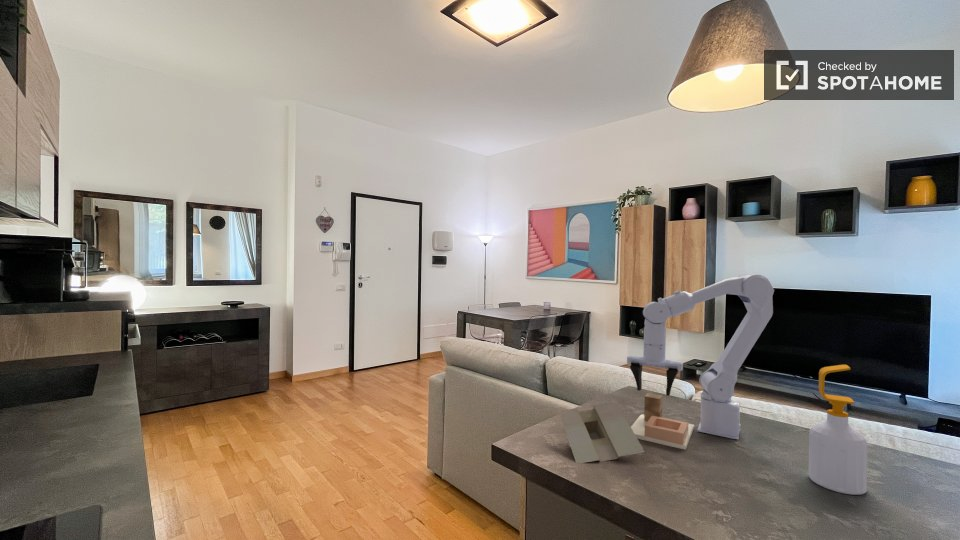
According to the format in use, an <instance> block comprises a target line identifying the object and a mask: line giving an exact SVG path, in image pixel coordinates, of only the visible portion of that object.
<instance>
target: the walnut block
mask: <svg viewBox="0 0 960 540" xmlns="http://www.w3.org/2000/svg"><path fill="white" fill-rule="evenodd" d="M643 411H644V413H643V415H644V421H646V422H648V420H649V419H650V417H651V416H657V417H662V418H663V395H661V394H658V393H657V394H655V393H650V392H647V393H646V394H645V395H644V409H643Z"/></svg>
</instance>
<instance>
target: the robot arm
mask: <svg viewBox="0 0 960 540" xmlns="http://www.w3.org/2000/svg"><path fill="white" fill-rule="evenodd" d="M774 292H775V289H774V286H773V285H772V283H771V281H770V280H769V279H768V278H767V277H766V276H765V275H761V274H741V275H738V276H733V277H729V278H725V279H723V280H720V281H718V282H715V283H712V284H710V285H707V286H705V287H703V288H700V289H698V290H695V291H693V292H688V291H686V290H685V291H684V290H683V291H680V290H675V291H674V292H673V293H674V294H672V295H669V296H667V297H664V298H662V297H659V298H657V301H650V302H647V304H645V306H644V307H643V310H642V315H643V317H644V318H645V319H644V323H643V324H644V327H643V356H632V355H628V356H626V364H629V365H630V366H629V368H630V369H629V370H630V371H631V373H632V374H633V377H634V380H635V384H636V389H637V391H641V390H642V389H643V388H642V387H643V385H642V383H643V381H642V375H643V374H642V373H643V367H644V366H647V367H655V368H660V369H661V368H663V369H666V372H665V373H666V390H665V394H666V396H671V390H672V387H673V384H674V381H675V379H676V378H677V375H678V372H682V371H683V369H684V368H683V367H684V363H683V362H680V361H673V360H668V359H666V343H667V342H666V338H667V337H666V336H667V335H666V334H667V331H666V321H667V320H668V318H670V319H671V318H674V317H677V316H680V315H683V314H686V313H688V312H691V311H693V310H694V308H695V307H696V305H697V304H699V303H702V302H706V301H709V300H712V299H715V298H718V297H721V296H724V295H735V296H738V297H739V298H740V300H741V301H742V303H743V304H744V307H745V309H746V311H747V312H746V314H745V315H744V317H743V318H742V320H741V322H740V324H739V325H738V327H737V328H736V330H735V332H734V334H733V335H732V337H731V339H730V340H729V342H728V343H727V344H726V347H725V348H724V350H723V351H722V352H721V354H720V356H719V358H718V359H717V361H715V362H714V363H712V364H711V365H710V367H709V368H708V369H707V370H704V372H702V373H701V374H700V376H699V379H698V380H699V385H700V387H701V388H702V392H701V393H700V419H699V420H700V421H699V423H698V427H697V432H700V433H703V434H704V433H705V434H708V435H714V436H719V437H724V438H727V439H728V438H729V439H732V440H733V439H734V440H740V439H739V437H740V431H741V429H742V428H741V427H742V426H741V425H742V424H741V423H740V413H741V411H740V408H741V404H740V402H739V401H735V400H732V397H733V396H734V393H735V385H736V383H738V382H737V381H738V371H739V370H740V368H741V367H742V365H743V364H744V362H745V360H746V359H747V357H748V355H749V354H750V352H751V350H752V348H753V347H754V346H755V344H756V342H757V341H758V339H759V338H760V336H761V334H762V332H764V330H765V329H766V326H767V324H768V323H769V321H770V320H771V318H772V317H773V314H774V305H773V303H774V301H773V295H774Z"/></svg>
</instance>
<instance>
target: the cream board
mask: <svg viewBox="0 0 960 540" xmlns="http://www.w3.org/2000/svg"><path fill="white" fill-rule="evenodd" d="M646 423H647V422H646V421H644V413H643V414H640V415H639V416H638V417H637V419H636V420H635V421H634V422H633V424H631V425H630V427H631V429H632V430H633V432H634V434H635V435H636V438H637V439H638V440H643V441H646V442H652V443H655V444H659V445H663V446H668V447H672V448H675V449H676V448H677V449H681V450H684V451H685V450H686V449H687V446H688V445H689V442H690V440H691V437H692V434H693V432H694V429H695V424H692V423H688V435H687V438H686V440H685V442H684V445H680V444H676V443H672V442H667V441H663V440H658V439H654V438H650V437H645V424H646Z"/></svg>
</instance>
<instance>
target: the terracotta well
mask: <svg viewBox="0 0 960 540" xmlns="http://www.w3.org/2000/svg"><path fill="white" fill-rule="evenodd" d="M688 424H689V422H686V421H682V420H677V419H673V418H672V419H671V418H665V417H663V416H662V417H657V416H651V417H650V419H649V420H648V422H647V423H646V424H645V437H650V438H654V439H658V440H663V441H667V442H672V443H676V444H680V445H684V442H685V440H686V438H687V435H688Z"/></svg>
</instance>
